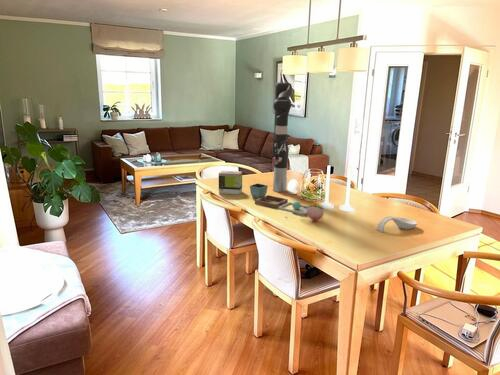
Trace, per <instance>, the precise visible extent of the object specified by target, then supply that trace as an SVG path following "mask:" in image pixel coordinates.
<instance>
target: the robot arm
mask: <svg viewBox="0 0 500 375" xmlns="http://www.w3.org/2000/svg"><path fill="white" fill-rule="evenodd" d="M292 85H293V84H292V83H289V82H280V81H279V82H276V84H275V91H274V92H275V96H274V97H275V98H274V99H275V100H274V102H273V106H272V107H273V110H274V123H273V125H274V127H273V128H274V130H273V142H272V149H271V150H272V151H271V152H272V156H273V157H274V158H275V159H274V160H276V161H277V162H276V161H275V162H274V164H273V185H272V190H273V191H274V192H277V193H283V192H286V190H287V186H288V184H287V182H288V177H287V173H288V160H289V152H290V149H289V141H288V122H289V113H290V111H291V108H292V103H291V101H290V100H289V99H290V98H291V95H292V92H293V86H292ZM279 159H281V160H279Z"/></svg>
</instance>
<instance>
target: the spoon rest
mask: <svg viewBox="0 0 500 375" xmlns="http://www.w3.org/2000/svg"><path fill="white" fill-rule="evenodd" d="M389 221H393V222H394V223H395V225H396V226H397V227H398V228H399V229H401V228H402V230H410V229H414V228H415V227H416V226H417V225H418V222H417V221H416V220H413V219H409V218H405V217H394V216H391V215H390V216H385V217H384V218H382V219H381V220H380V221H379V223H378V224H377V226H376V231H379V232H380V233H384V232H385V226H386V224H387V223H388V222H389Z"/></svg>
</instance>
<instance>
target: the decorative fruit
mask: <svg viewBox="0 0 500 375" xmlns="http://www.w3.org/2000/svg"><path fill="white" fill-rule="evenodd" d="M307 206H308V207H309V208H308V209H307V215H306V216H307V217H308V218H309V219H310V220H312V221H313V222H316V221H318V220H321V219H322V218H323V217H324V207H323V206H322V205H317V203H315V204H309V205H307Z"/></svg>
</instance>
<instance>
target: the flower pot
mask: <svg viewBox="0 0 500 375" xmlns="http://www.w3.org/2000/svg"><path fill="white" fill-rule="evenodd" d="M249 189H250V195H251V197H252V198H253V199H256V200H257V199H259V198H262V197H265V196H267V192H268V184H263V183H259V182H258V183H254V184H251V185H249Z"/></svg>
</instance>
